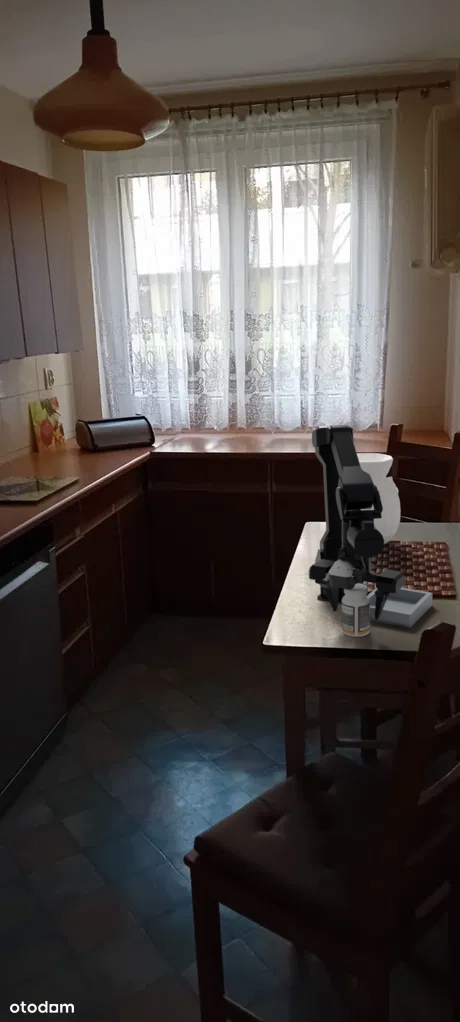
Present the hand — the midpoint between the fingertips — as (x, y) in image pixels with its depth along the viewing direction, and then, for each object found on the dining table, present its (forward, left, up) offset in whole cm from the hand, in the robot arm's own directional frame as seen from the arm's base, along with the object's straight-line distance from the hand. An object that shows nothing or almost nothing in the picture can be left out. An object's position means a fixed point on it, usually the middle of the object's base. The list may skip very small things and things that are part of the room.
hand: (355, 615), depth 160 cm
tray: (+3, +14, -4) cm, 15 cm away
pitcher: (-21, +55, -4) cm, 59 cm away
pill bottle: (0, 0, -4) cm, 4 cm away
